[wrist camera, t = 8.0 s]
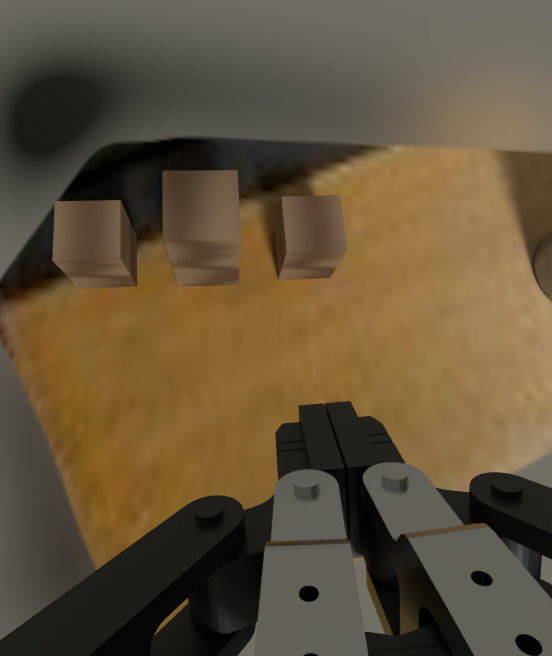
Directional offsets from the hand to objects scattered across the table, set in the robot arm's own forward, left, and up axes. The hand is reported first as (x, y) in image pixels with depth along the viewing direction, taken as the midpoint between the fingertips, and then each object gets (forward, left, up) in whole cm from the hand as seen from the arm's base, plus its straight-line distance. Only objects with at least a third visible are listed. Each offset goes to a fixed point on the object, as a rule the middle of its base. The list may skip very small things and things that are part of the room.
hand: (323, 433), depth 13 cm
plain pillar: (+4, -17, -27) cm, 32 cm away
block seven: (+13, -17, -27) cm, 34 cm away
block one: (-5, -17, -27) cm, 32 cm away
